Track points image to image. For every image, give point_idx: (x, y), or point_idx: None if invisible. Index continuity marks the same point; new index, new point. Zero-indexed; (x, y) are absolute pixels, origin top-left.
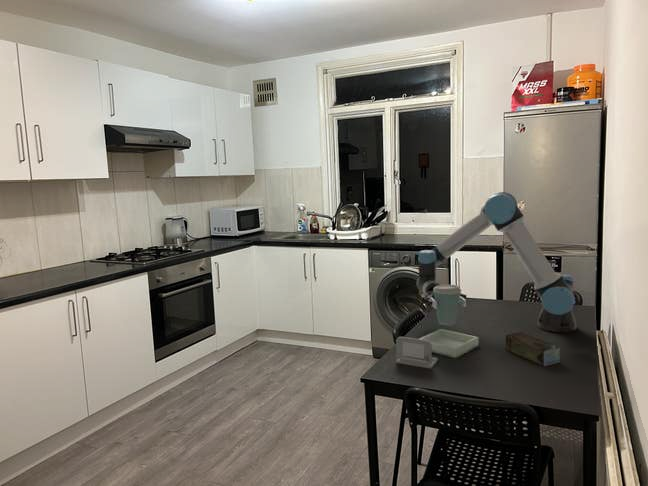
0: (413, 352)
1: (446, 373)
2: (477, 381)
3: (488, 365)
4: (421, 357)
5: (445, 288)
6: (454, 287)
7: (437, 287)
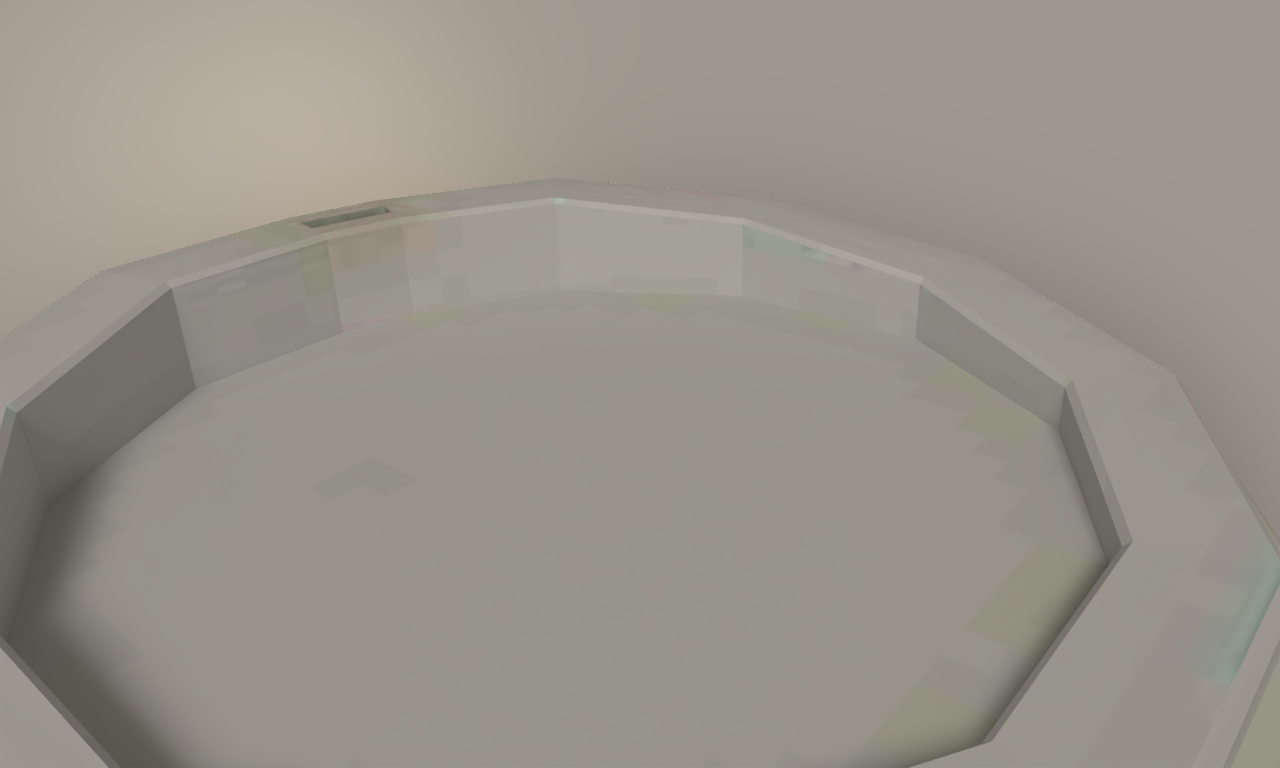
0: None
1: None
2: None
3: None
4: None
5: (765, 214)
6: (415, 212)
7: (1095, 602)
